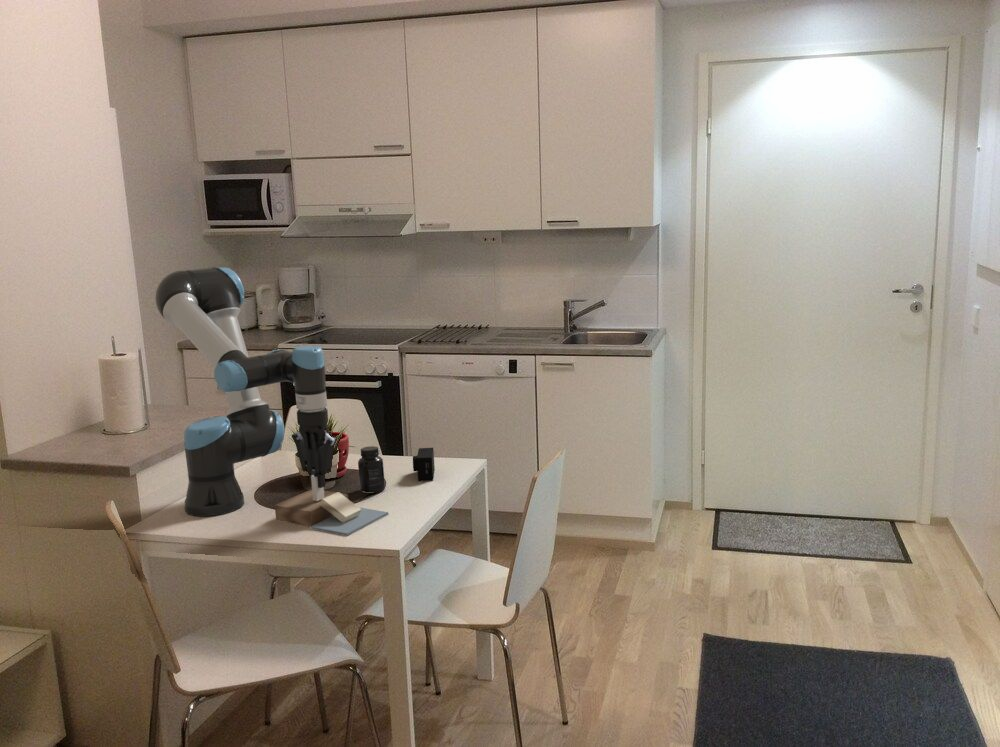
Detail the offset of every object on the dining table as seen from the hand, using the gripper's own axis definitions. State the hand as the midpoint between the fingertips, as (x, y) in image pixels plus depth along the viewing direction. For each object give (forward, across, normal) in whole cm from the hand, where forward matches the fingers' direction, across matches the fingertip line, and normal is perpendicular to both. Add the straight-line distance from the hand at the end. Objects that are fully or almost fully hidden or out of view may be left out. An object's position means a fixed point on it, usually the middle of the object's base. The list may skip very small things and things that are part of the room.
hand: (318, 498), depth 227 cm
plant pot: (+5, -21, +28) cm, 35 cm away
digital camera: (+5, +6, +39) cm, 39 cm away
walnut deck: (+5, -2, 0) cm, 5 cm away
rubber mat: (+4, +10, 0) cm, 11 cm away
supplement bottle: (+5, 0, +22) cm, 22 cm away
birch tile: (+2, +7, 0) cm, 7 cm away
